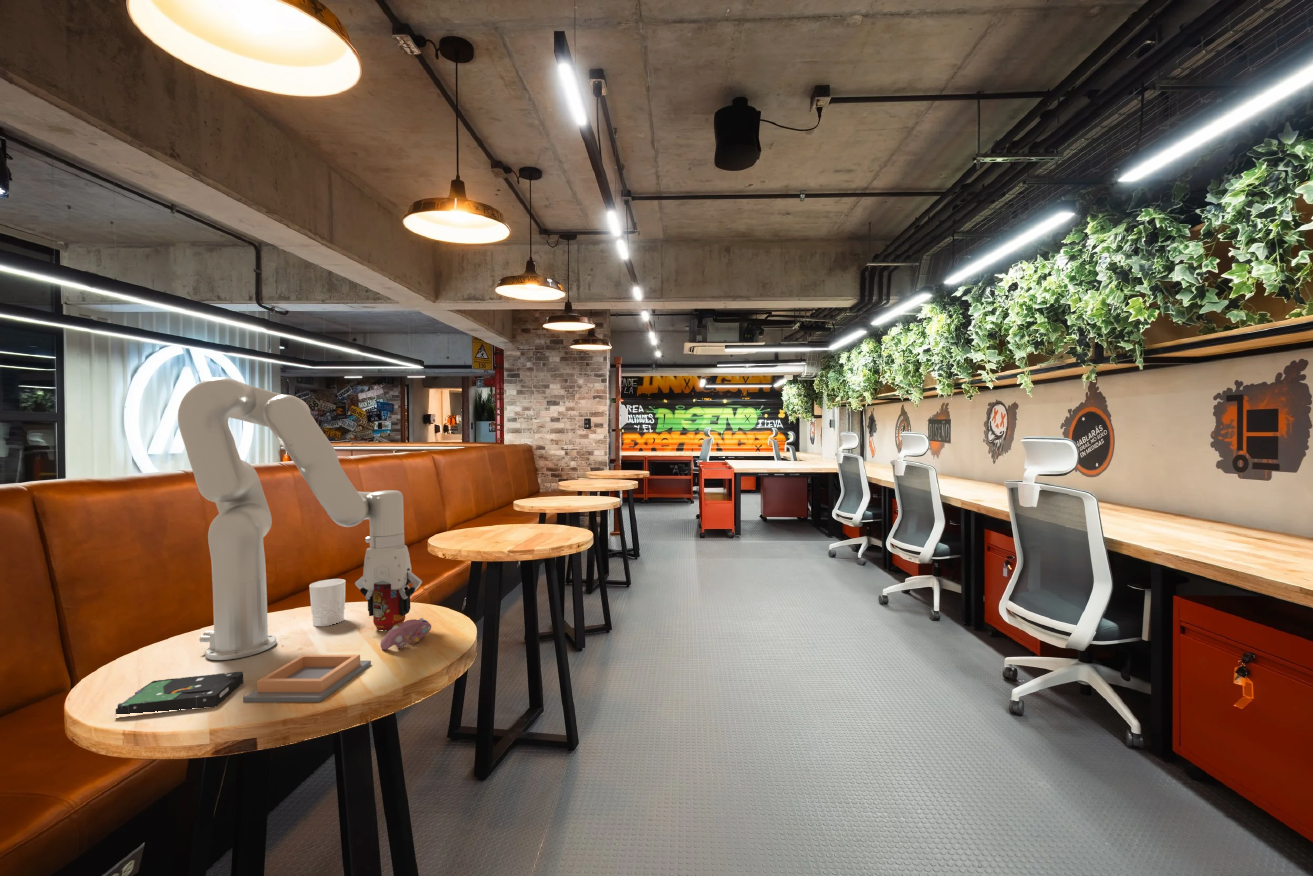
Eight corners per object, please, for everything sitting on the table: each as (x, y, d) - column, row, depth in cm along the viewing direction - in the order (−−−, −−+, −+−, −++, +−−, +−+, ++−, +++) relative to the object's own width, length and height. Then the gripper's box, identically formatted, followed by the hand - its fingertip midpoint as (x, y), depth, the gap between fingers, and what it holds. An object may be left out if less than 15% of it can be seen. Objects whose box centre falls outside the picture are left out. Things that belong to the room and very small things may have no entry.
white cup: (353, 618, 145) (352, 579, 145) (329, 628, 137) (328, 587, 137) (328, 616, 146) (326, 578, 146) (302, 626, 139) (301, 586, 139)
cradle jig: (243, 701, 99) (242, 686, 99) (304, 664, 115) (304, 651, 115) (319, 702, 98) (319, 686, 98) (370, 664, 114) (370, 650, 114)
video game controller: (386, 660, 120) (393, 634, 118) (377, 647, 123) (383, 621, 121) (429, 646, 128) (436, 621, 126) (419, 633, 131) (426, 609, 129)
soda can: (366, 631, 134) (365, 580, 134) (387, 621, 141) (386, 572, 141) (391, 633, 132) (390, 581, 132) (411, 623, 139) (410, 574, 139)
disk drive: (244, 685, 108) (152, 694, 104) (244, 670, 108) (152, 679, 104) (216, 710, 98) (113, 722, 94) (216, 694, 98) (113, 705, 94)
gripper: (343, 545, 133) (345, 619, 133) (414, 544, 132) (416, 619, 133) (361, 539, 141) (363, 609, 141) (429, 538, 140) (431, 609, 140)
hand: (389, 613), depth 137 cm, fingers closed on soda can, 7 cm apart
